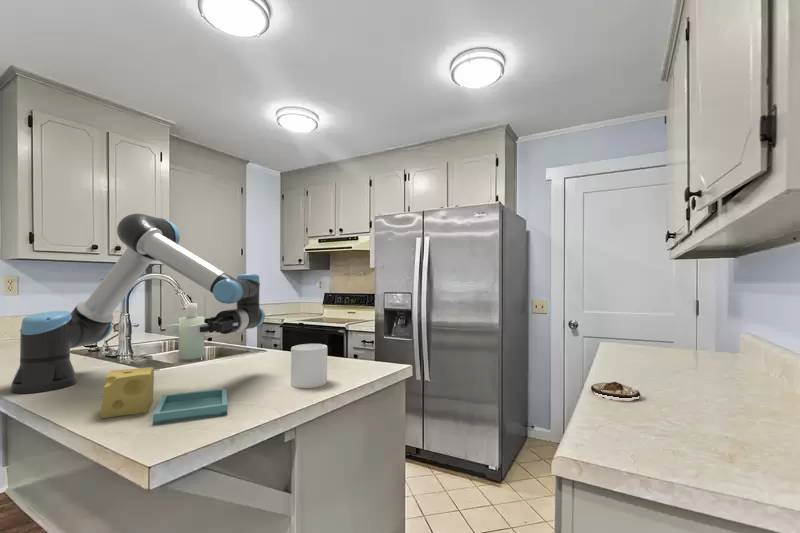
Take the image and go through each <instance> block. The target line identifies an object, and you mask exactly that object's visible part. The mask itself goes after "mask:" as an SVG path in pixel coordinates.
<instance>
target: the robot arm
mask: <svg viewBox="0 0 800 533" xmlns="http://www.w3.org/2000/svg"><path fill="white" fill-rule="evenodd" d="M116 227H117V228H116V233H117V237H118V238H119V241H121V243H122V244H124V245H125V247H126V249H125V251H124V252H123V253H122V254H121V256H120V257H119V259H117V261H116V262H115V264H114V265H113V266H112V267H111V269H109V271H108V272H107V274H106V275H105V277H104V278H103V279H102V281H101V282H99V284H98V285H97V287H96V288H95V290H93V292H92V293H91V295H90V296H89V297H88V298H87V300H86V301H83V302H81V301H80V302H78V303H77V305H76V306H75V307H74V308H73V310H72V311H71V312H70V311H68V310H55V311H54V310H53V311H46V312H38V313H34V314H33V313H32V314H29V315H27V316H25V317H24V318H23V319H22V320H21V327H20V330H19V332H20V341H19V342H20V344H19V346H20V350H19V352H20V354H19V357H20V359H19V365H18V366H19V367H18V369H17V371H16V373H15V375H14V377H13V379H12V382H11V384H10V391H11V393H14V394H31V393H32V394H33V393H40V392H47V391H48V392H49V391H54V390H58V389H63V388H67V387H70V386H72V385H74V384H76V383H77V374H76V371H75V369H74V366H73V364H72V362H71V349H74V348H75V349H76V348H78V347H85V346H91V345H94V344H97V343H99V342H101V341H103V340H105V339H107V337H108V336H109V335H110V334H111V332H112V329H113V325H112V324H113V320H114V314H113V313H114V311H115V310H116V309H117V307H119V305H120V304H121V302H122V301H123V299H124V298H125V297H126V295H128V293H129V292H130V290H131V289H132V288H133V286H134V285H135V284H136V283H137V281H138V280H139V279H140V277H141V276H142V275H143V273H144V272H145V271H146V270H147V268H148V267H149V266H150V264H151V263H152V262H157V261H158V262H160V263H161V264H163V265H165V266H166V267H168V268H170V269H171V270H173V271H175V272H177V273H178V274H179V275H181V276H183V277H184V278H187V279H188V280H190V281H192V282H193V283H194V284H196V285H198V286H199V287H201V288H203V289H205V290H206V291H208V292H210V293H211V294H213V297H214V299H215V300H216V301H218V302H219V303H222V304H228V305H229V304H235V303H236V308H232V309H225V310H221V311H218V313H217V314H216V315H215V316H212V317H209V318H207V317H206V318H204V324H198V325H192V326H189V336H195V335H199V334H204V335H205V334H208V333H215V332H216V333H220V334H222V335H227V334H231V333H235V334H238V333H239V332H240V331H245V330H249V329H254V328H257V327H259V326H261V325H262V324H263V323H264V321H265V319H266V314H265V312H264V310H263V308H262V307H260V288H261V287H260V286H261V284H260V275H258V274H256V273H239V274H237V275H236V278H235V277H233V276H232V275H230V274H228V273H226V272H225V271H223V270H221V269H219V268H218V267H217V266H215V265H213V264H211V263H210V262H207V261H206V260H204V259H203V258H201V257H200V256H198V255H196V254H195V253H193V252H191V251H190V250H188V249H187V248H185V247H183V246H181V245H180V244H179V243H180V238H181V236H180V232H179V229H178V227H177V226H176V224H174V222H172V221H169V220H167V219H165V218H162V217H156V216H151V215H147V214H144V213H131V214H128V215H127V216H124V217H123V218H122V219H120V221H119V223H118V224H117V226H116ZM172 335H179V321H178V322H177V323H174V324H173V323H172V324H167V325H165V336H172Z"/></svg>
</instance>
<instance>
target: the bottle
mask: <svg viewBox="0 0 800 533" xmlns="http://www.w3.org/2000/svg"><path fill="white" fill-rule="evenodd" d="M204 319H205V316H198V302H194V303H191V302H190V303H186V304H185V316H183V317H179V318H178V322H179V334H178V359H179V360H193V359H194V360H195V359H199V358H203V357H205V333H204V334H199V335H195V336H189V326H192V325H198V324H204Z"/></svg>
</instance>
